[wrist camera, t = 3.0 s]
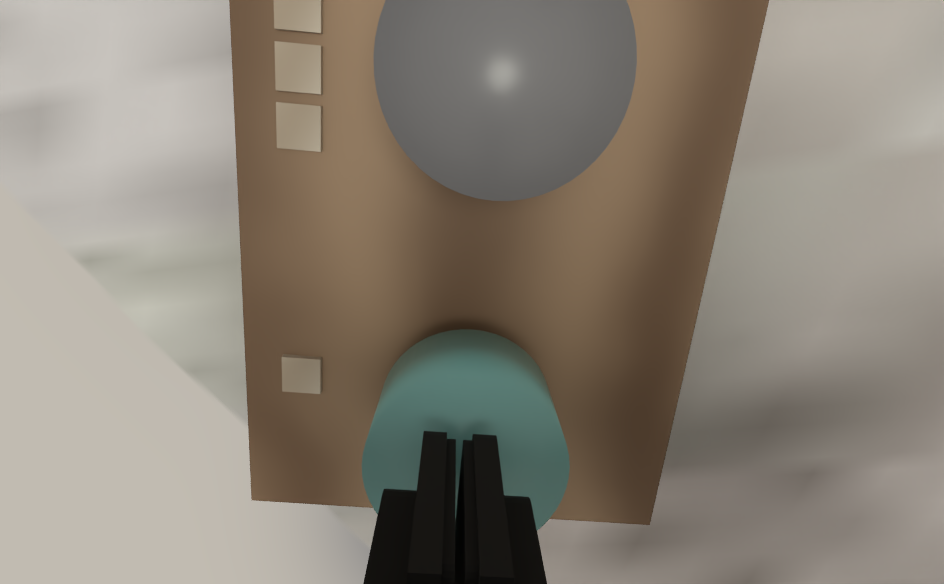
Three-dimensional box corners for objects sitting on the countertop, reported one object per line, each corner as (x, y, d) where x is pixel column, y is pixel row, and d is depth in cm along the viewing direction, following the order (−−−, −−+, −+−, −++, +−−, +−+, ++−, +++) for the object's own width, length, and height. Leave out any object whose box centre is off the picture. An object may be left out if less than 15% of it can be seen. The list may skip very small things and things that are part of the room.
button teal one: (560, 336, 15) (584, 385, 12) (538, 484, 16) (554, 560, 13) (383, 322, 15) (364, 369, 12) (378, 474, 16) (359, 549, 13)
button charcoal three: (613, -23, 12) (660, -70, 9) (581, 194, 14) (613, 210, 11) (398, -45, 12) (378, -100, 9) (389, 177, 13) (369, 190, 11)
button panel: (816, -468, 13) (921, -646, 10) (624, 472, 21) (651, 529, 18) (256, -546, 13) (191, -760, 10) (280, 449, 21) (249, 504, 18)
